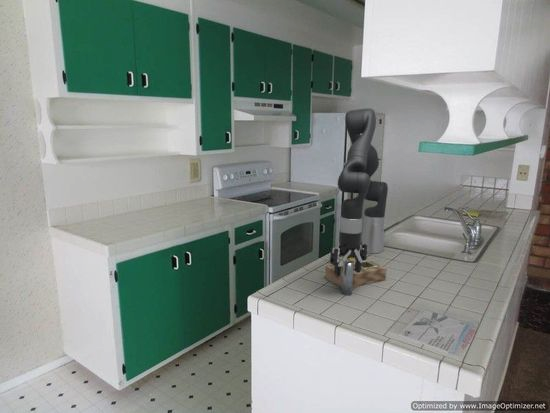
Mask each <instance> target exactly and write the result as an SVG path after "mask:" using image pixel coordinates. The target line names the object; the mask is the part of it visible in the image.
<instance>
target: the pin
mask: <svg viewBox="0 0 550 413" xmlns="http://www.w3.org/2000/svg"><path fill="white" fill-rule="evenodd" d="M353 269H354V261H352V260H345V261H344V263H343V279H342V288H341V294H342V295H343V296H351V295H353V288H352V284H353Z"/></svg>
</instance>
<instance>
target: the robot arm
mask: <svg viewBox="0 0 550 413" xmlns="http://www.w3.org/2000/svg"><path fill="white" fill-rule="evenodd" d="M345 113H346V114H345V118H344V121H345V128H346V131H347V133H348V136H349V140H350V142H351V145H350V147H349V149H348V152H347V156H346V162H345V165H344V168H343V169H342V171H341V172H340V174H339V176H338V178H337V187H338V190H339V191H340V192H342V193H349V194H357V195H356V196H355V197H353V198H347V199H344V200H343V201H342V203H341V212H340V214H341V215H340V222H339V231H338V232H339V234H338V242H339V243H340V246H339V245H338V247H334V246H332V247H331V248H330V249H331V250H330V259H329V263H330V265H332V264H333V265H334V266H335V271H334V273H335V275H336V276H338V277H339V276H341V264H342V263H343V262H344V261H345V260H346V259H349V258H354V260H356V261H355V272H357V273H359V272H360V271H361V263H362V261H364V260H366V259H368V257H367V256H368V254H380V253H382V252H384V248H385V246H384V245H385V236H386V234H385V233H386V231H384V229H385V227H384V226H385V214H386V209H387V208H386V207H387V206H386V205H387V199H388V192H389V191H388V190H389V189H388V188H389V186H388V183H387V182H385V181H378V180H377V181H376V180H371V178H372V176H373V175H374V174H375V173H376V171H377V170H378V168H379V165H380V162H379V161H380V160H379V156H378V151H377V149H376V148H375V147H374V146H373V144H372V141H373V137H374V134H375V131H376V128H377V126H376V125H377V119H376V118H377V117H376V113H375V110H374V109H373V108H361V109H359V108H358V109H352V110H348V111H347V112H345ZM365 201H371V202H377V204H376V205H374V206H370V207H366V208H365V209H364V202H365ZM363 210H364V213H363ZM363 214H364V215H363ZM341 256H342V257H343V258H341ZM339 260H340V261H339ZM338 262H339V263H338Z"/></svg>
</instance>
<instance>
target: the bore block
mask: <svg viewBox="0 0 550 413" xmlns="http://www.w3.org/2000/svg"><path fill="white" fill-rule="evenodd" d="M355 261H356V260H355V259H354V269H353V284H352V289H353V288H357V287H362V286H366V285H370V284H375V283H379V282H384V281H386V280H387V278H386V277H387V268H386V267H385V266H383V265H380V264H379V263H377V262H374V261H372V260H370V259H368V258H367V259H366V260H364V261H362V263H361V271H360V272H359V273H357V272H355ZM343 263H344V262H343ZM343 263H342V264H341V276H339V277H338V276H336V275H335V273H334V271H335V266H334V265H333V264H329V265H325V274H324V276H325V277H324V278H325V279H326V280H328V281H329V282H331V283H333V284H335V285H336V286H337V287H339V288H341V289H342V279H343Z"/></svg>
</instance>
